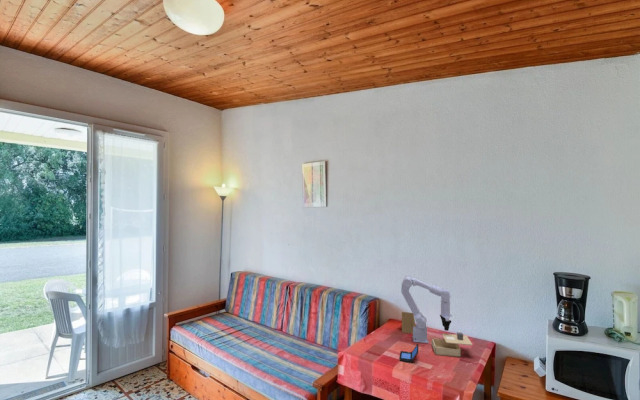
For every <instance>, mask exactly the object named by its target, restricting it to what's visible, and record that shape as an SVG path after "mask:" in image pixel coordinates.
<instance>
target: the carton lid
mask: <svg viewBox="0 0 640 400" xmlns="http://www.w3.org/2000/svg"><path fill="white" fill-rule="evenodd" d="M441 335H442V337H443V339H445V341H446V343H452V344H458V345H463V346H473V343H472V341H471V339H470V338H469V336H468V335H466V334H464V333H463V332H456V334H453V333H441Z"/></svg>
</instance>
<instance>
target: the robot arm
mask: <svg viewBox="0 0 640 400" xmlns="http://www.w3.org/2000/svg"><path fill="white" fill-rule="evenodd" d="M416 286H418V287H421V288H423V289H426V290H428V291H429V293H431V294H433V295H435V296H438V297H440V314H439V317H440V319H441V324H442V326H443V328H444V331H446V332H447V331H448V332H449V329H450V326H451V323H452V320H450V317H453V315H452V314H451V301H450V300H451V293H450V291H449V290H448V289H447V288H444V287H441V286H438V285H437V284H436V283H434V284H429V283H427V282H424V281H422V280H420V279H418V278H416V277H413V276H410V275H406V276H404V277H403V280H402V283H401V289H400V291H401V294H402V296H403V298H404V300H405V302H406V303H407V306H408V308H409V309H410V312H411V313H413V315H414V320H415V325H416V327H413V334H412V341H413V342H414V343H422V344H423V343H424V344H429V340H428V326H427V318H426V317H425V316H424V315H423V313H422V312H421V311H420V309H419V307H418V305H417V304H416V301H415V300H414V298H413V296H412V294H411V293H410V289H411V287H416Z"/></svg>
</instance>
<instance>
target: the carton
mask: <svg viewBox="0 0 640 400" xmlns="http://www.w3.org/2000/svg"><path fill="white" fill-rule="evenodd" d="M431 347H432V350H433V352H434V355H435V356H446V357H453V358H454V357H457V358H461V357H462V349H461V347H460V344H452V343H446V341H445V339H444V338H435V337H433V338H431Z"/></svg>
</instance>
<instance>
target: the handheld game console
mask: <svg viewBox="0 0 640 400" xmlns="http://www.w3.org/2000/svg"><path fill="white" fill-rule="evenodd" d="M399 352H400V353H399V362H402V363H407V364H413V361H414V360H415V359H416V356H417V355H418V354H419V343H417V344H416V345H415V346H414V348H413V349H412V351H411V352H410V351H405V350H404V351H403V350H401V351H399Z"/></svg>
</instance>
